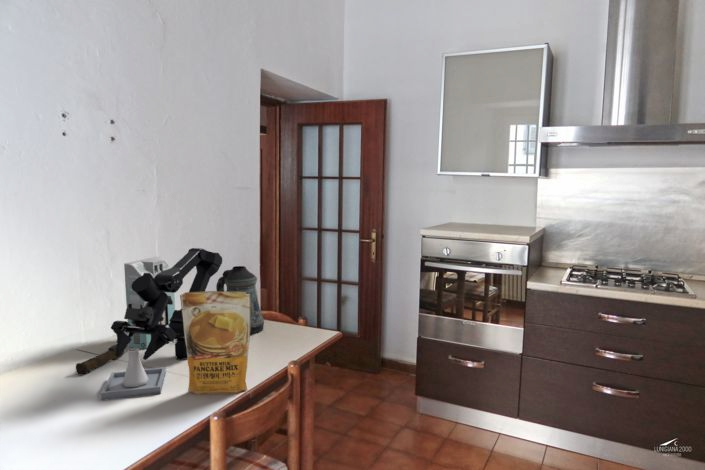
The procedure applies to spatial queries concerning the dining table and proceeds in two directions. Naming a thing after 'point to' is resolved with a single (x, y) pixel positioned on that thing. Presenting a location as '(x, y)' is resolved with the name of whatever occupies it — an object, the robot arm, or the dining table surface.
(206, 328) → the pancake mix bag
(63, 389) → the dining table surface
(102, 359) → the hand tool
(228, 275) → the dark grey coffee pot
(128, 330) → the robot arm
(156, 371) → the parts tray
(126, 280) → the light blue box
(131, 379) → the flask
